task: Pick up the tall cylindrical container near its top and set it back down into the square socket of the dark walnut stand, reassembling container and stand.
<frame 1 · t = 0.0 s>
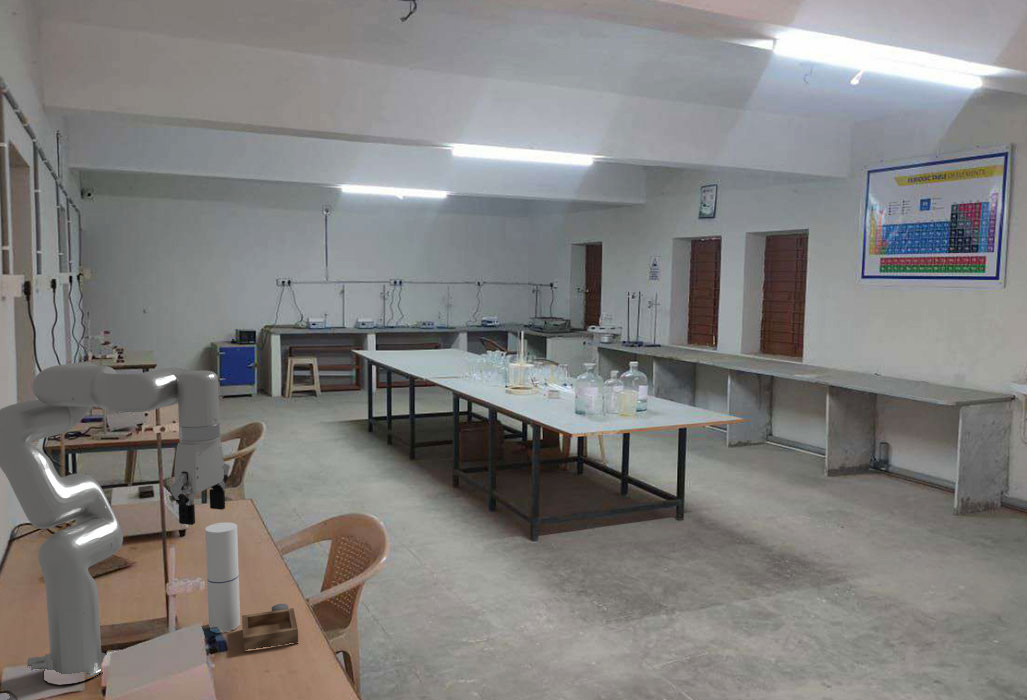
hand: (202, 516, 154), 37 cm above the table, tool pointing down, fingers open, 9 cm apart
cylindrical container: (224, 627, 186), on the table
walnut stand: (269, 636, 181), on the table
rubber stopper: (280, 618, 191), on the table
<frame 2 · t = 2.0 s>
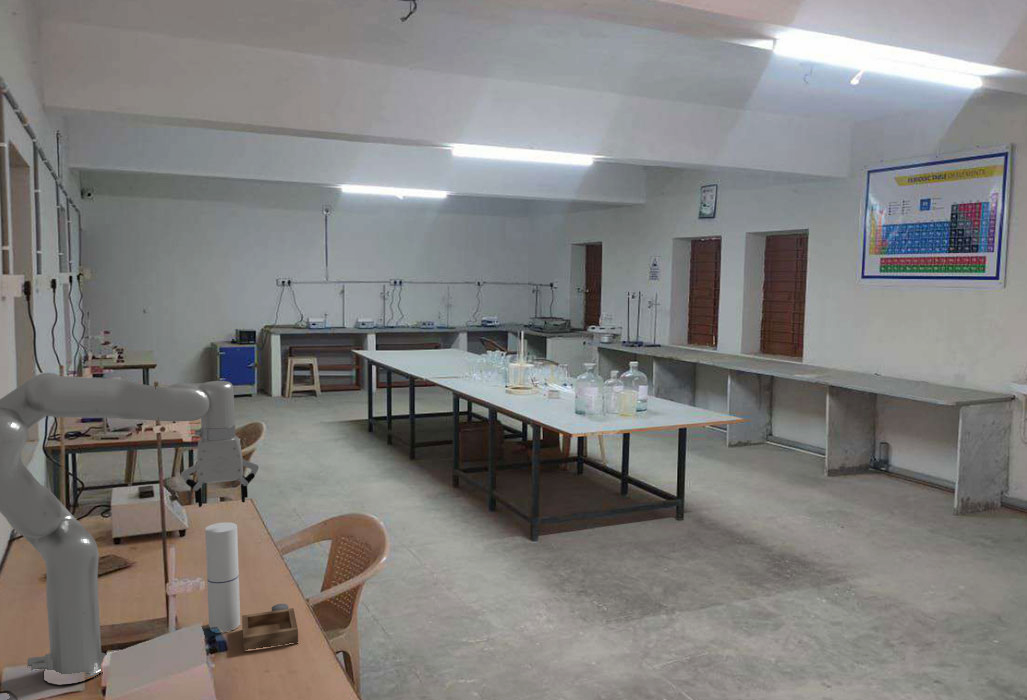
hand: (222, 503, 183), 31 cm above the table, tool pointing down, fingers open, 9 cm apart
nothing on the table moved.
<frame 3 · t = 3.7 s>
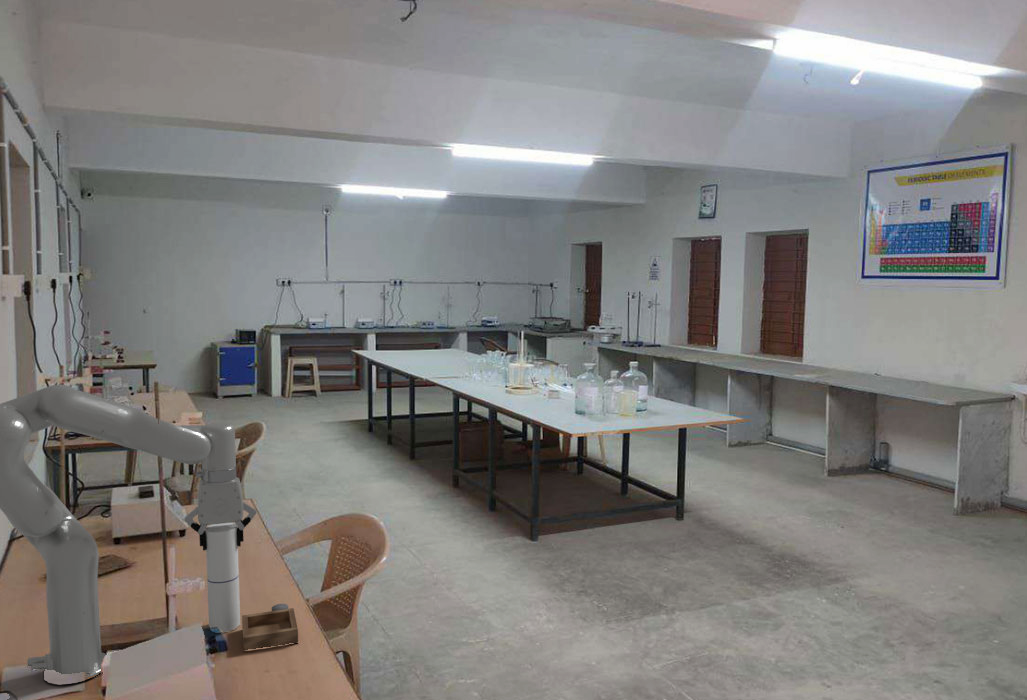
hand: (222, 546, 184), 20 cm above the table, tool pointing down, fingers closed on cylindrical container, 7 cm apart
cylindrical container: (224, 627, 186), on the table, touching gripper
everything else where it was.
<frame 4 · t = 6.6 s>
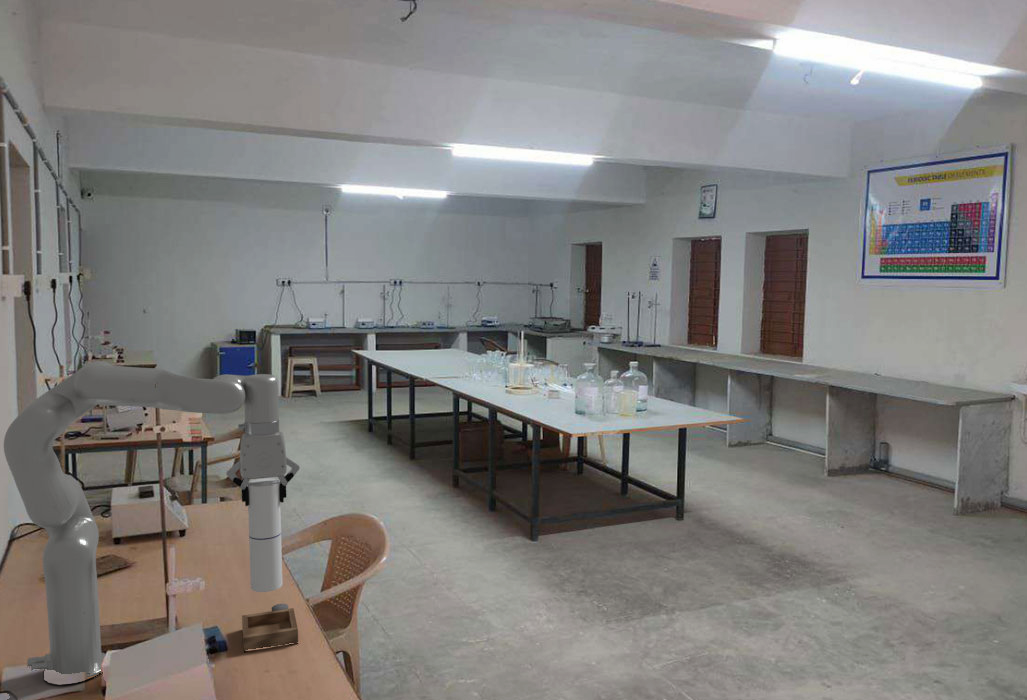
hand: (264, 502, 178), 33 cm above the table, tool pointing down, fingers closed on cylindrical container, 7 cm apart
cylindrical container: (266, 586, 180), point 12 cm above the table, touching gripper
everything else where it was.
when the fingers open (22 cm above the table, at t = 9.7 s): cylindrical container stays where it is, resting on walnut stand.
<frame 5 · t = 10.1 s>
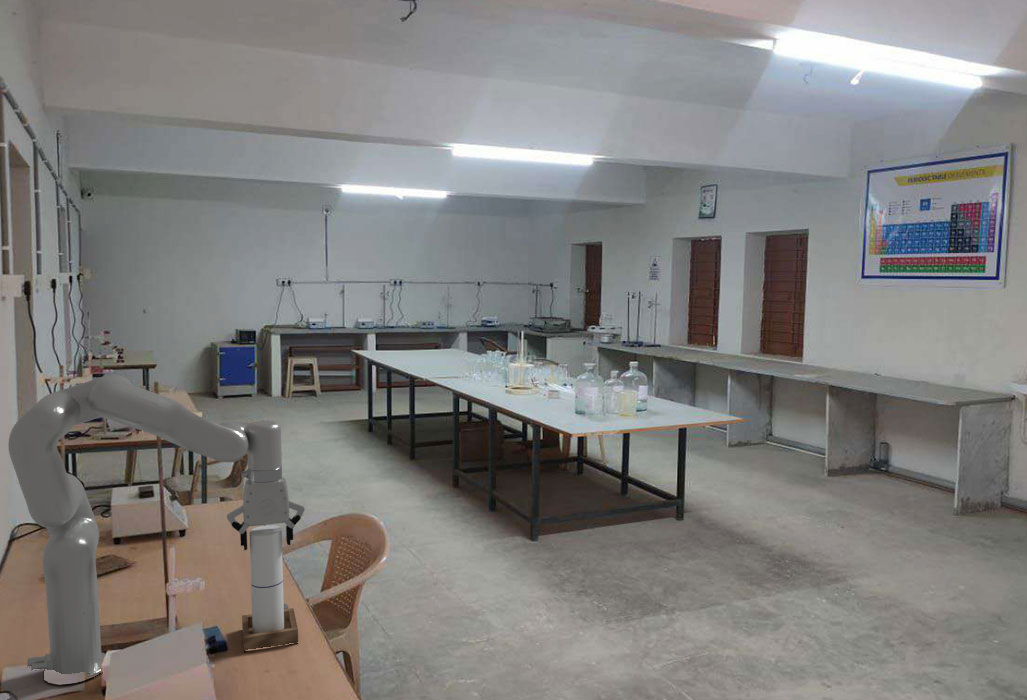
hand: (267, 545, 179), 22 cm above the table, tool pointing down, fingers open, 9 cm apart
cylindrical container: (268, 633, 181), point 1 cm above the table, touching walnut stand
everything else where it was.
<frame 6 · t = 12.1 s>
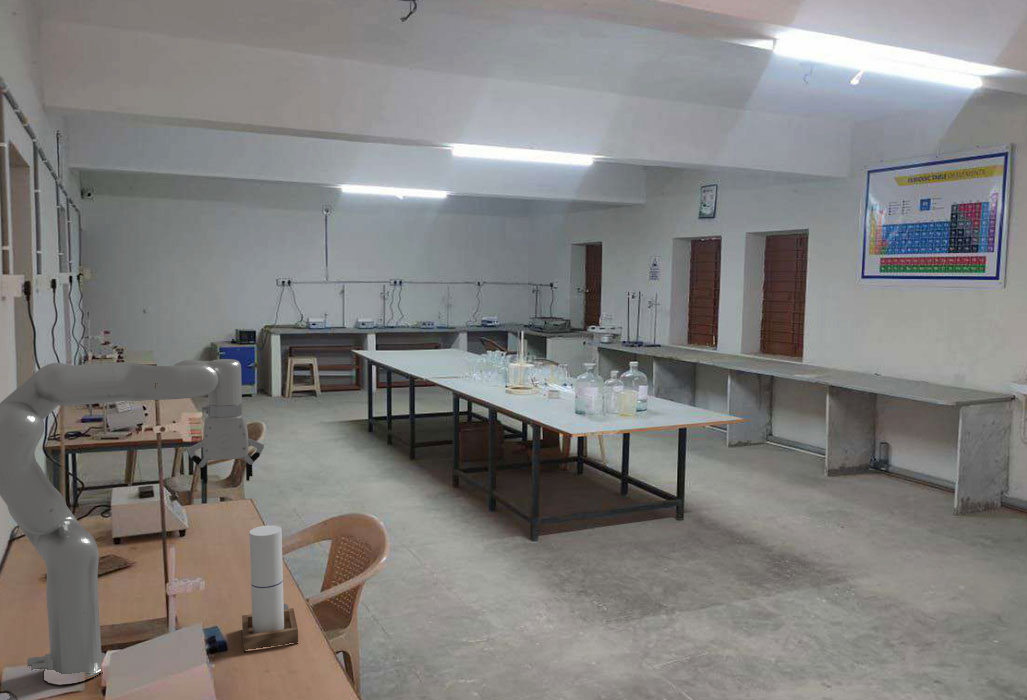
hand: (226, 480, 184), 36 cm above the table, tool pointing down, fingers open, 9 cm apart
nothing on the table moved.
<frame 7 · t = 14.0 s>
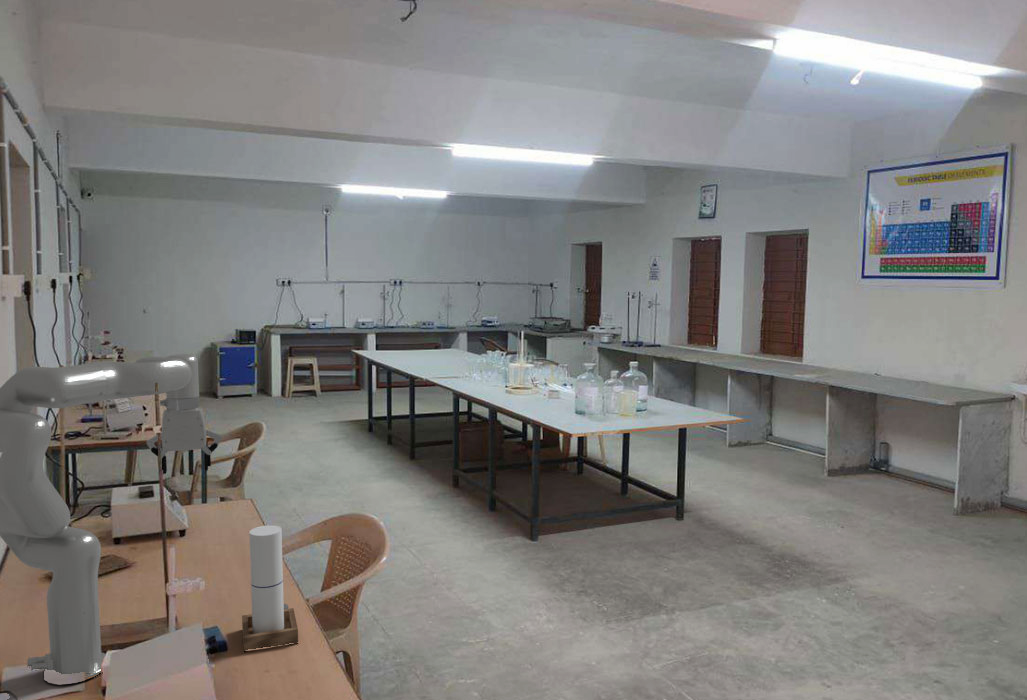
hand: (185, 471, 191), 36 cm above the table, tool pointing down, fingers open, 9 cm apart
nothing on the table moved.
at the end: cylindrical container 0.3 cm off-centre on the walnut stand, point 0.8 cm above the walnut stand's base; cylindrical container tilted 0°; the gripper is holding nothing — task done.
